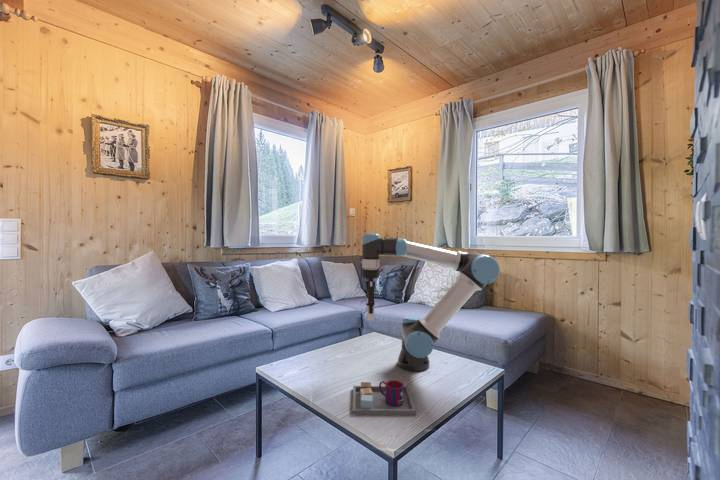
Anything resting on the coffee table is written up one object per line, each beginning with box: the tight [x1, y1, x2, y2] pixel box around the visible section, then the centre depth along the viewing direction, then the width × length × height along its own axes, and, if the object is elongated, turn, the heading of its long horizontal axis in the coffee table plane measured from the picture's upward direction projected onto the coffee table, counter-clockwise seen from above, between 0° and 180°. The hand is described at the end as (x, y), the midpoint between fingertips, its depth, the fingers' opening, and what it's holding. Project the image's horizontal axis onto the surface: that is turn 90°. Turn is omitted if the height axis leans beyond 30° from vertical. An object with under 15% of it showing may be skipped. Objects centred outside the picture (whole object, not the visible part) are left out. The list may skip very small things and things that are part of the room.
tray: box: [352, 385, 417, 416], centre depth 123 cm, size 22×18×2 cm
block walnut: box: [360, 381, 372, 389], centre depth 128 cm, size 4×4×4 cm
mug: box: [378, 379, 405, 407], centre depth 124 cm, size 7×10×7 cm
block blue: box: [361, 395, 373, 409], centre depth 118 cm, size 4×4×4 cm
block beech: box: [360, 388, 373, 400], centre depth 123 cm, size 4×4×4 cm
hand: (369, 316), depth 145 cm, fingers open, 13 cm apart
